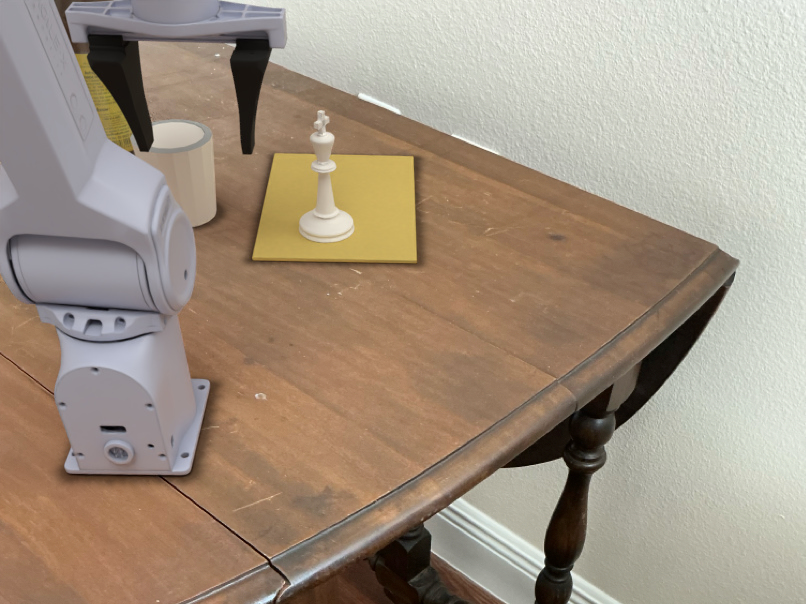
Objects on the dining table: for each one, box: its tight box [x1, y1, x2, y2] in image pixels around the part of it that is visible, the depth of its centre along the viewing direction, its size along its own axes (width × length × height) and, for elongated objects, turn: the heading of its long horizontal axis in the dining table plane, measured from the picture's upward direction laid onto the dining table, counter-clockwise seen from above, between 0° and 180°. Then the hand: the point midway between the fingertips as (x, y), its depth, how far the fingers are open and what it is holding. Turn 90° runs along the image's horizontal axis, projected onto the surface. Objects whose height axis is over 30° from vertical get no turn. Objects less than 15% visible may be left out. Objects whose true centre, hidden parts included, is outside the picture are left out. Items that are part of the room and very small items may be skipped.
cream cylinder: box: [130, 118, 218, 228], centre depth 74 cm, size 7×7×7 cm
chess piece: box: [299, 109, 354, 243], centre depth 71 cm, size 5×5×10 cm
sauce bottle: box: [54, 0, 135, 155], centre depth 76 cm, size 6×6×20 cm
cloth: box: [251, 152, 418, 264], centre depth 78 cm, size 20×14×1 cm
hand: (197, 147), depth 64 cm, fingers open, 7 cm apart
